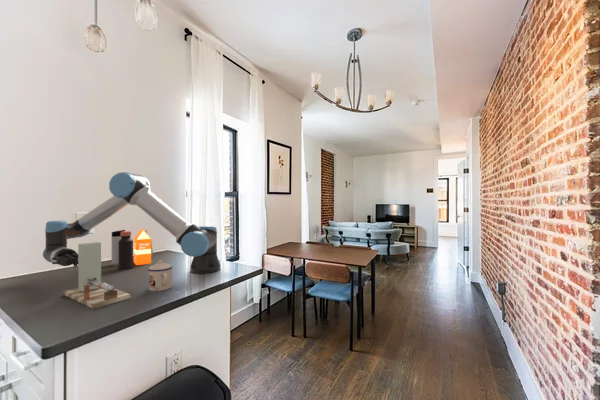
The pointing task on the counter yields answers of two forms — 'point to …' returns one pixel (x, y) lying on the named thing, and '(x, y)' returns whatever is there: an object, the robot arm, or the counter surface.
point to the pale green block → (89, 264)
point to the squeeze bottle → (151, 243)
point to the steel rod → (101, 285)
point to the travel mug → (115, 247)
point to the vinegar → (125, 251)
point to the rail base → (96, 296)
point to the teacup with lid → (160, 276)
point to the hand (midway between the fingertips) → (86, 262)
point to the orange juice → (142, 248)
